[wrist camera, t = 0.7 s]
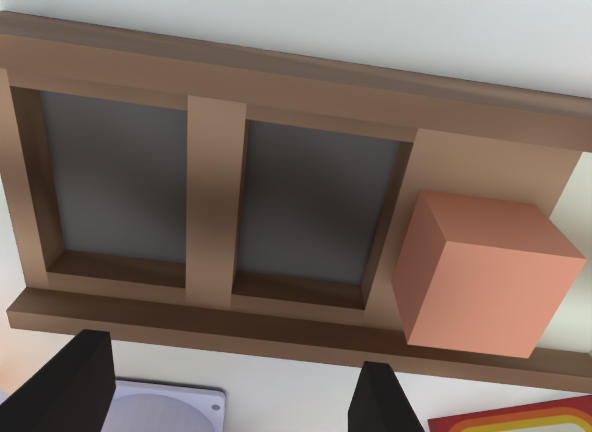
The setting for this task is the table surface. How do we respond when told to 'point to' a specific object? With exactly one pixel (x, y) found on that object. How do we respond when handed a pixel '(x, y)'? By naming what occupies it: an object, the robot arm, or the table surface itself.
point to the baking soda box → (523, 418)
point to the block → (481, 274)
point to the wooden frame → (266, 195)
